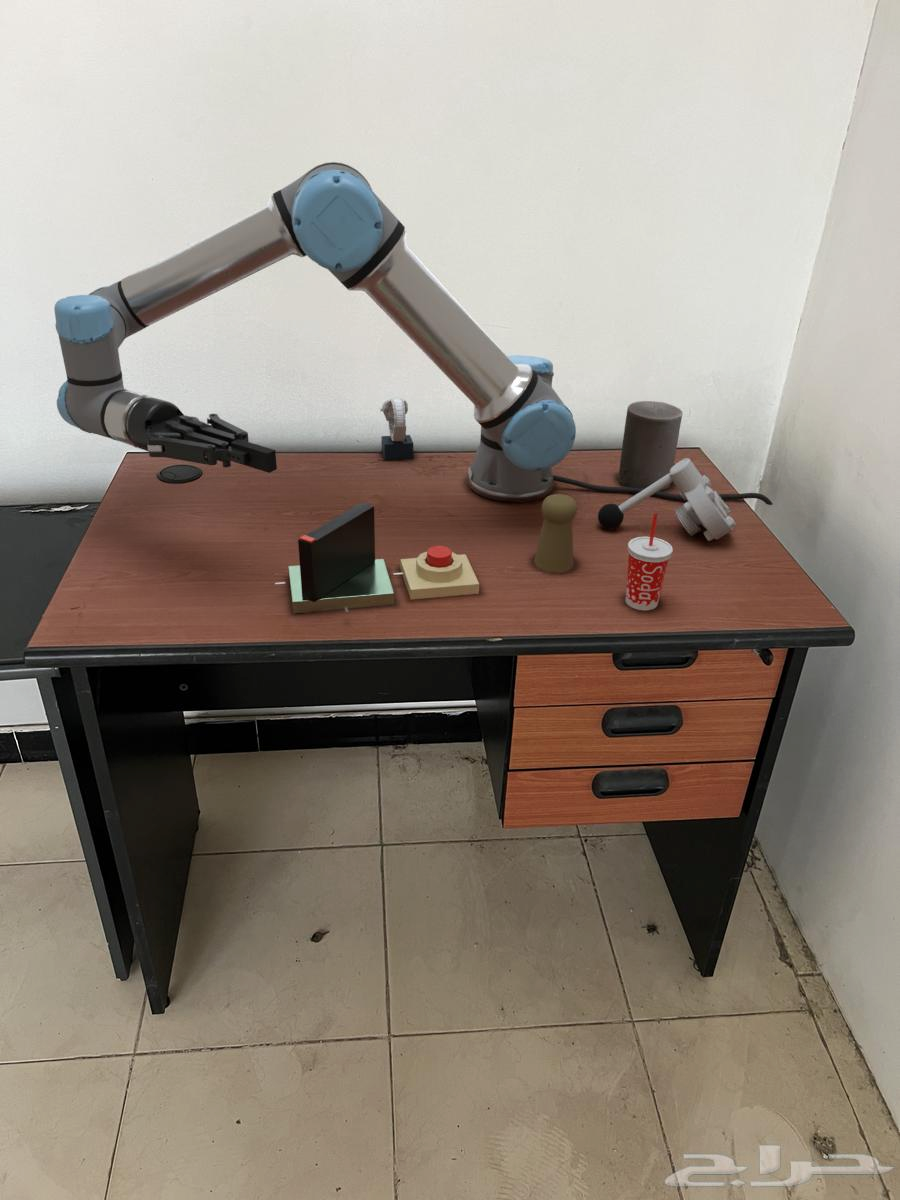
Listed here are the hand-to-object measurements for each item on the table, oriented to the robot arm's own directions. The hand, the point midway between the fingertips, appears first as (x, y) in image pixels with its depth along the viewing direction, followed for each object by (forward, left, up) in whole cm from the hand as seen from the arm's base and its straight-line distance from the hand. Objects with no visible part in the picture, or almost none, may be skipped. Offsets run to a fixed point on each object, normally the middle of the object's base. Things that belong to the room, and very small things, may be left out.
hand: (272, 461), depth 117 cm
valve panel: (-8, +1, -20) cm, 22 cm away
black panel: (-8, +1, -18) cm, 20 cm away
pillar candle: (-67, -29, -20) cm, 76 cm away
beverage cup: (-50, +11, -20) cm, 55 cm away
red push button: (-23, 0, -17) cm, 28 cm away
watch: (-24, -48, -20) cm, 57 cm away
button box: (-23, 0, -20) cm, 30 cm away
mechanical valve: (-62, -9, -20) cm, 66 cm away
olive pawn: (-41, -2, -20) cm, 46 cm away
